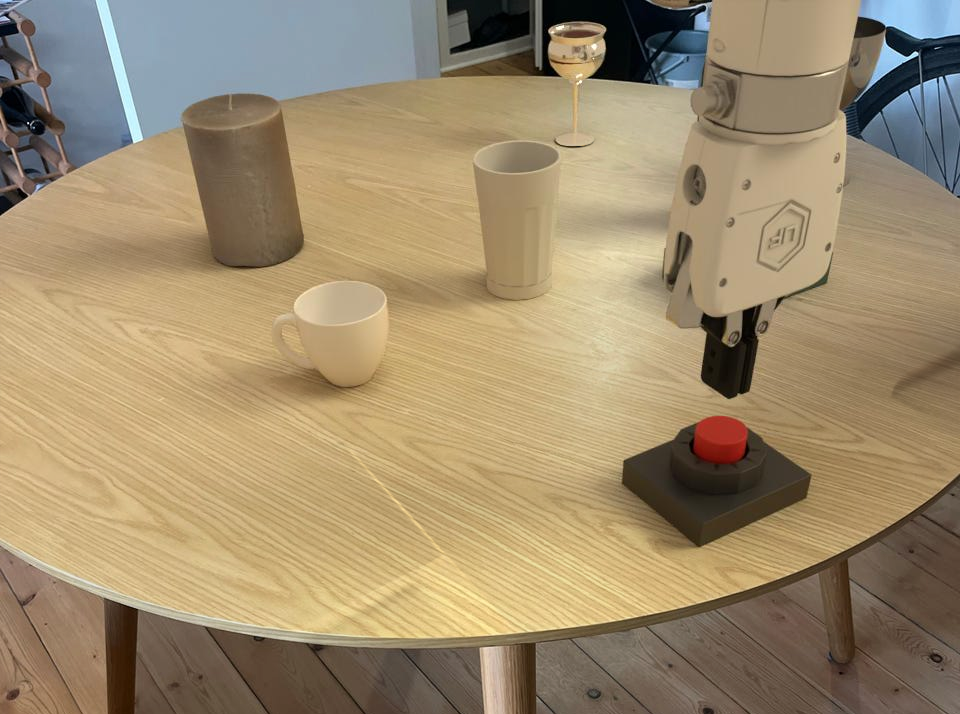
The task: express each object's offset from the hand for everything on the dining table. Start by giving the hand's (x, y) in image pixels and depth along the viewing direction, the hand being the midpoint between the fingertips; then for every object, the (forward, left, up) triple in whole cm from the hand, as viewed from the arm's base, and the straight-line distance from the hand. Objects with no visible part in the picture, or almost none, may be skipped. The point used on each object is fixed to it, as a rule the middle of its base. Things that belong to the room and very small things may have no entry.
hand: (724, 386), depth 69 cm
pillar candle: (+12, -59, -9) cm, 61 cm away
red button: (0, 0, -5) cm, 5 cm away
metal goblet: (-47, -38, -9) cm, 61 cm away
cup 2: (-6, -36, -9) cm, 38 cm away
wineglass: (-32, -64, -9) cm, 72 cm away
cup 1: (+16, -31, -9) cm, 36 cm away
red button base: (0, 0, -9) cm, 9 cm away
